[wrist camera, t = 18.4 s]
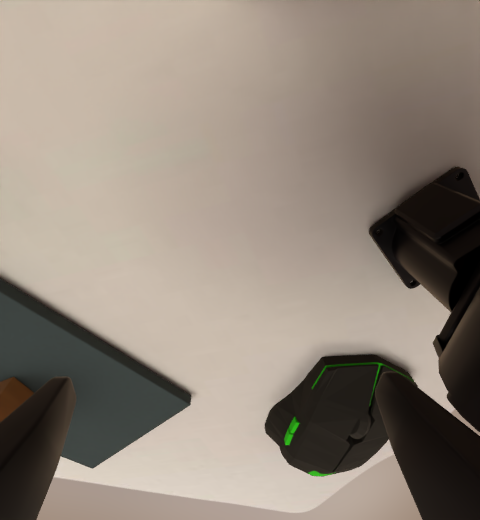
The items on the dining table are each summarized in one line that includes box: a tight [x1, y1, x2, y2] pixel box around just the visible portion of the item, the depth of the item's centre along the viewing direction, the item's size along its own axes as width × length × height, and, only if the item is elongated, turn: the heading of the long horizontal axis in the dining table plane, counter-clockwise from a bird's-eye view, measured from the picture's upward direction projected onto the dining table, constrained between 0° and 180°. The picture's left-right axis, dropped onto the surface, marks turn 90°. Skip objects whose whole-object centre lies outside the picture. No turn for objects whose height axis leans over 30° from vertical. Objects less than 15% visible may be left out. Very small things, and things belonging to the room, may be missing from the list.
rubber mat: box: [0, 279, 191, 468], centre depth 25 cm, size 18×14×1 cm
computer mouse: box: [265, 355, 418, 476], centre depth 28 cm, size 11×16×4 cm
